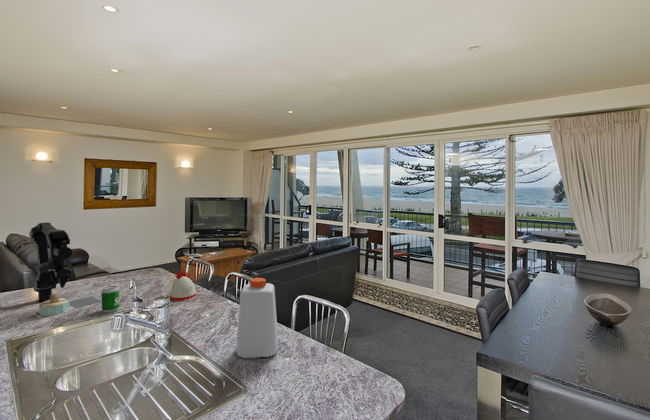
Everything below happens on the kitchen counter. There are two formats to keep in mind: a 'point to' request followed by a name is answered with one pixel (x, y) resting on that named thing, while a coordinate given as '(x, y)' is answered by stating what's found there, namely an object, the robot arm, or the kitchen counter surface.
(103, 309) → the soda can
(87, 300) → the mat
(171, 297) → the kitchen timer
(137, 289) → the kitchen counter surface
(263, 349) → the plastic bottle
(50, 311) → the bowl
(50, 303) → the lid
